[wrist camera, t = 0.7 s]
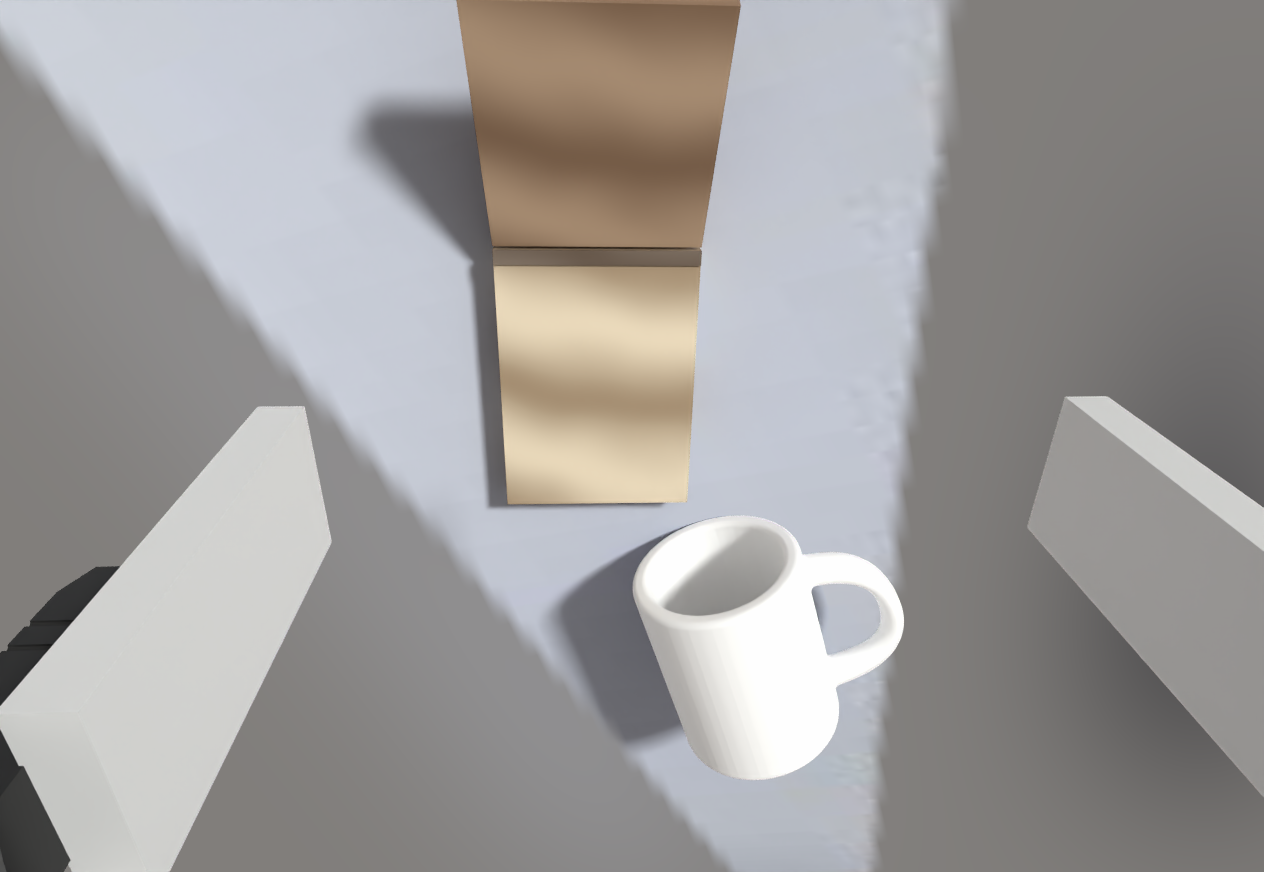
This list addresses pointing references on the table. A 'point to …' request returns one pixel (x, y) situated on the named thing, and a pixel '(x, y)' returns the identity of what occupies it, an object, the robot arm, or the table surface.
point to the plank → (598, 117)
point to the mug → (754, 641)
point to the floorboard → (596, 371)
